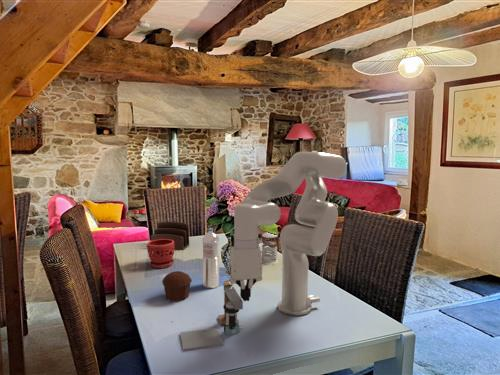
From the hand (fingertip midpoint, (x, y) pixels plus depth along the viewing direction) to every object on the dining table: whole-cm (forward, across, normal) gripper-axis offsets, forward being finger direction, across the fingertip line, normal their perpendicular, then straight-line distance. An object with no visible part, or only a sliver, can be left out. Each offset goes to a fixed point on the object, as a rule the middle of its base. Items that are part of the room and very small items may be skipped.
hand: (245, 299), depth 122 cm
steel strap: (+1, +3, -4) cm, 5 cm away
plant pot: (+12, +21, -77) cm, 81 cm away
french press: (+12, -32, -68) cm, 76 cm away
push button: (+12, +3, -3) cm, 13 cm away
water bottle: (+12, +3, -44) cm, 45 cm away
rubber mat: (+12, +14, -1) cm, 19 cm away
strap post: (+12, +3, -11) cm, 16 cm away
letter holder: (+12, +14, -109) cm, 110 cm away
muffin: (+12, +18, -36) cm, 42 cm away
